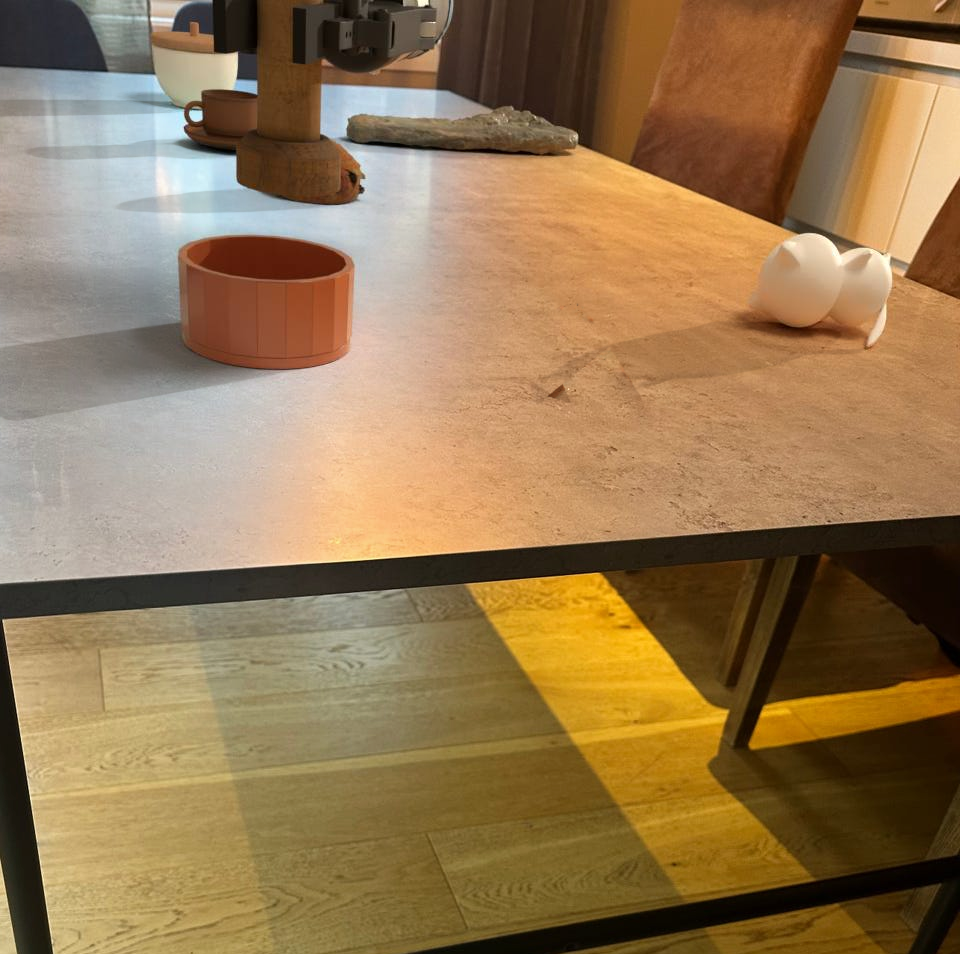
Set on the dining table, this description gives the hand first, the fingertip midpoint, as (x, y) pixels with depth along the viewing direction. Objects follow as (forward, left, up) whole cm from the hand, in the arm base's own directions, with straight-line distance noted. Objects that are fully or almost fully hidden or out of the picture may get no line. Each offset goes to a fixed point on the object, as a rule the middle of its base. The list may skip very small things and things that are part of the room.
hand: (259, 30), depth 60 cm
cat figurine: (+29, +44, -21) cm, 57 cm away
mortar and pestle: (-1, +5, -9) cm, 11 cm away
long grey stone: (-31, +99, -21) cm, 106 cm away
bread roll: (-29, +54, -21) cm, 65 cm away
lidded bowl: (-72, +91, -21) cm, 119 cm away
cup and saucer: (-51, +69, -21) cm, 88 cm away
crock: (-6, +9, -21) cm, 23 cm away
